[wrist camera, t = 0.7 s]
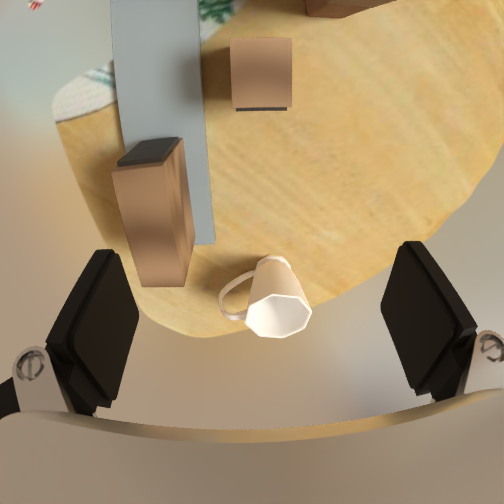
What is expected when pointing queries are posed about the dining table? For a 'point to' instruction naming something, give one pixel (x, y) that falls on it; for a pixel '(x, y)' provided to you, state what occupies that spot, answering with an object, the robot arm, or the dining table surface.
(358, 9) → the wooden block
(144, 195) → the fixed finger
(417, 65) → the dining table surface
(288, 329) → the cup
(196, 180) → the rail
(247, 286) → the dining table surface
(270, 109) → the brown rectangular block
